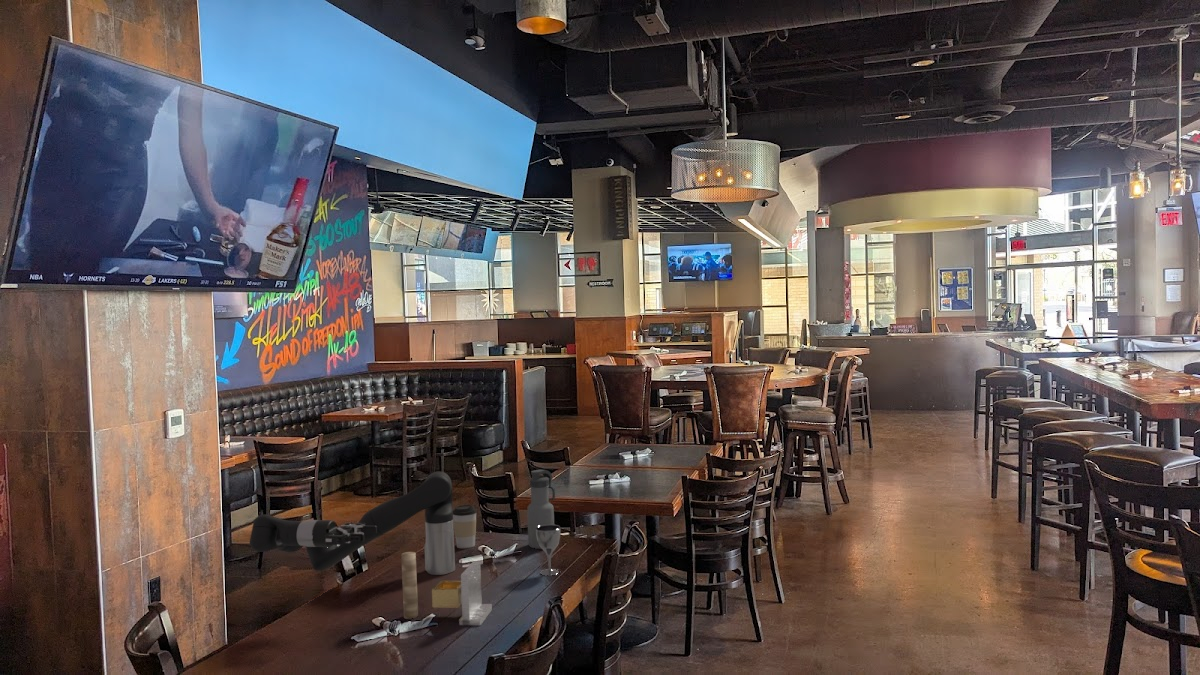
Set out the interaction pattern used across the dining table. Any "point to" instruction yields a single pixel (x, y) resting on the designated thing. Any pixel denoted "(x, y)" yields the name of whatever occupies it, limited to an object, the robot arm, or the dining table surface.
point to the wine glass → (548, 544)
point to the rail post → (409, 585)
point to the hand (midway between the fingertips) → (370, 533)
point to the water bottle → (539, 504)
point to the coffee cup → (465, 525)
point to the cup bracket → (463, 596)
